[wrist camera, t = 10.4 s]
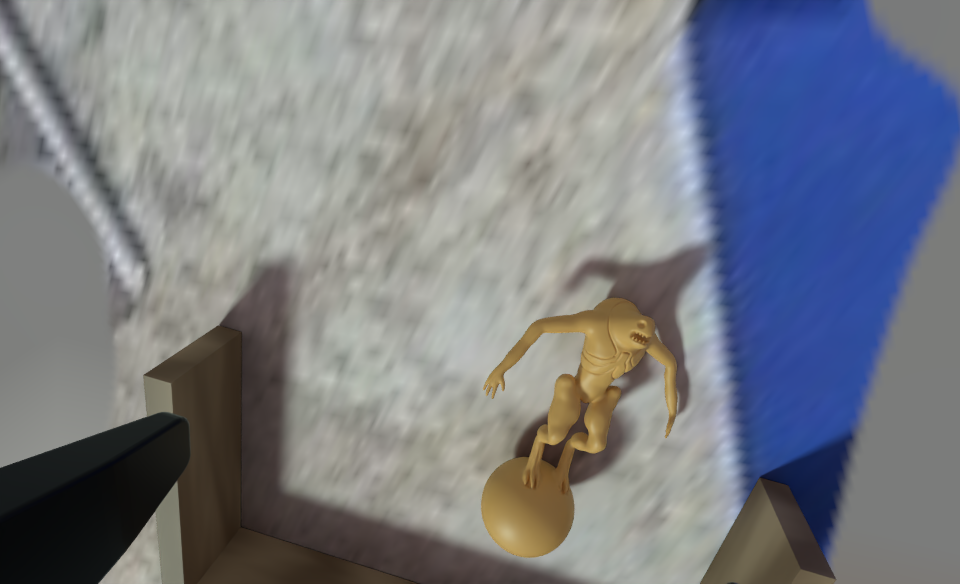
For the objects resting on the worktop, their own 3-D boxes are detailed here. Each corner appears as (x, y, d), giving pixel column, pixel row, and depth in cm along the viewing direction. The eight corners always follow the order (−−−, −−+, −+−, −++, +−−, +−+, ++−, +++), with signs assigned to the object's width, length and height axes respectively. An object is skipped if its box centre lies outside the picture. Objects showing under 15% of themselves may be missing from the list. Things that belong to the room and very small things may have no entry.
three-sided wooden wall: (788, 485, 22) (835, 579, 17) (671, 680, 27) (687, 785, 23) (218, 325, 24) (143, 375, 20) (221, 535, 30) (164, 607, 26)
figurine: (418, 561, 20) (561, 380, 13) (424, 431, 25) (533, 245, 18) (596, 582, 23) (799, 438, 16) (572, 460, 27) (720, 306, 20)
